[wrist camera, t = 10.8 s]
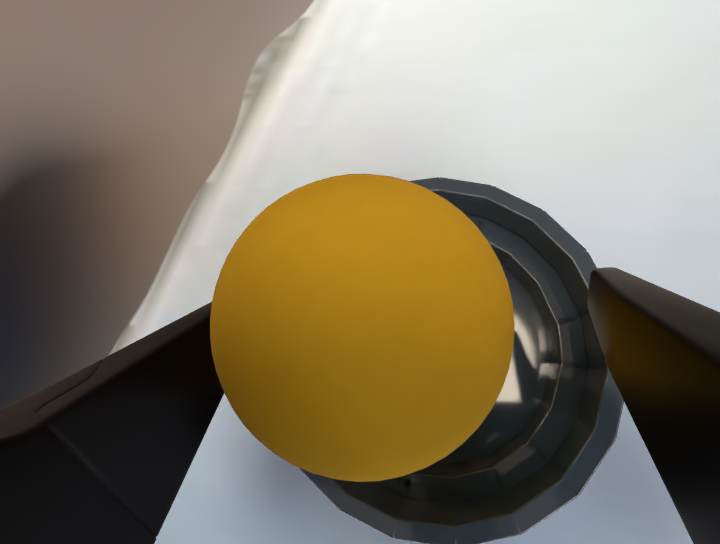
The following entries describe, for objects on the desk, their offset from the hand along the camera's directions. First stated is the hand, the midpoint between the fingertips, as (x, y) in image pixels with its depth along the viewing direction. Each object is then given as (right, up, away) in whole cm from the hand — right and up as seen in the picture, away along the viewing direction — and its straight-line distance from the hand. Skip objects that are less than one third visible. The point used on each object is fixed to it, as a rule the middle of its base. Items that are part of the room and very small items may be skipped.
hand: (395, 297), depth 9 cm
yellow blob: (+2, -3, +7) cm, 8 cm away
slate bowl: (+3, -3, +8) cm, 9 cm away
